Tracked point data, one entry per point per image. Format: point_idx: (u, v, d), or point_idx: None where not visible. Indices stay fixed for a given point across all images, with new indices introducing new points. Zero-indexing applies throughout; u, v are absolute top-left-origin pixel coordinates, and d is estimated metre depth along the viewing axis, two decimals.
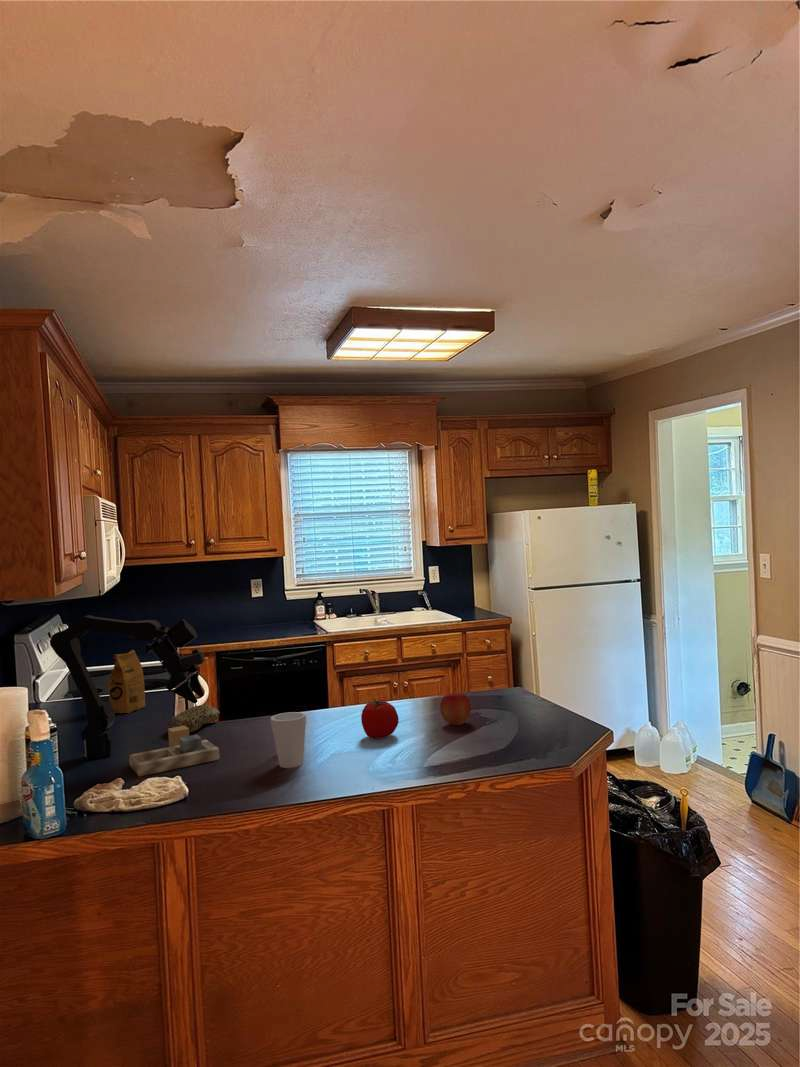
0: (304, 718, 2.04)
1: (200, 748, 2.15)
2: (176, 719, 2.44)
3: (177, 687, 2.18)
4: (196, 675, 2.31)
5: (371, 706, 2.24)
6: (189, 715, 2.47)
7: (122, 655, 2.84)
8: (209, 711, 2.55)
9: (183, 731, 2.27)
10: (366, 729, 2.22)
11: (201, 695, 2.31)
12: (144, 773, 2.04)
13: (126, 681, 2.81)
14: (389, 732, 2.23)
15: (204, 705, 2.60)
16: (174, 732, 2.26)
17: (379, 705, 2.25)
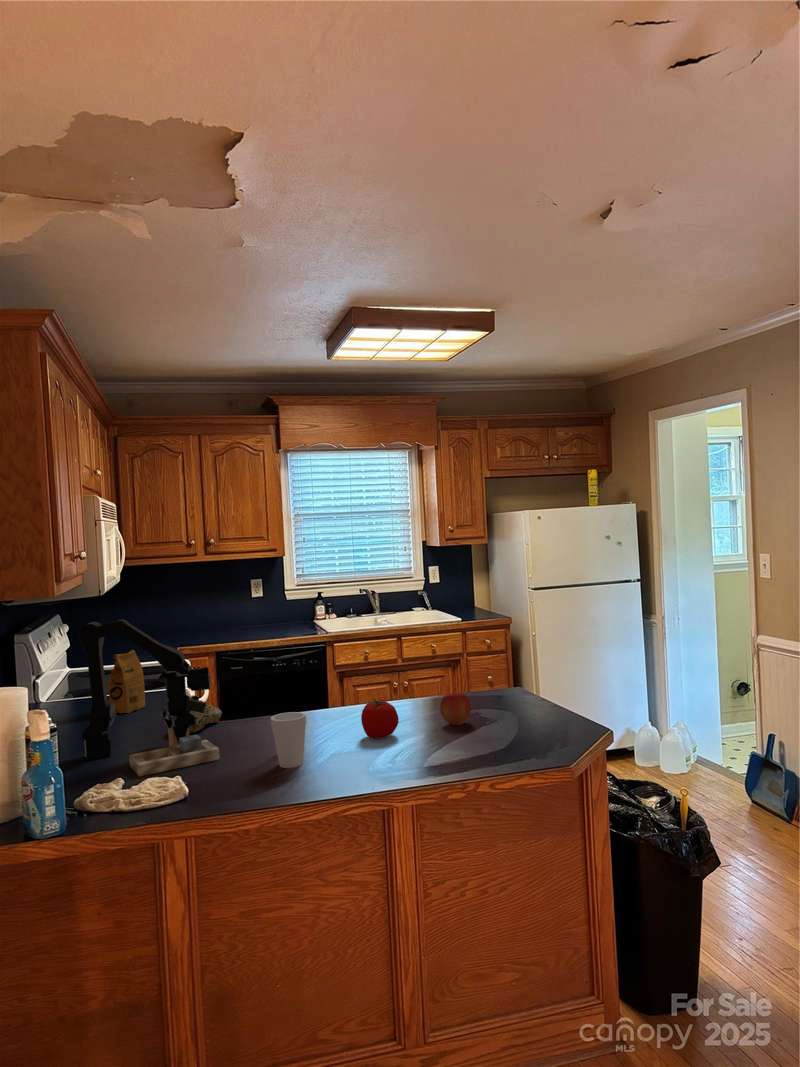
0: (304, 718, 2.04)
1: (200, 748, 2.15)
2: None
3: None
4: None
5: (371, 706, 2.24)
6: None
7: (122, 655, 2.84)
8: (212, 711, 2.55)
9: None
10: (366, 729, 2.22)
11: None
12: (144, 773, 2.04)
13: (126, 681, 2.81)
14: (389, 732, 2.23)
15: (206, 705, 2.59)
16: None
17: (379, 705, 2.25)
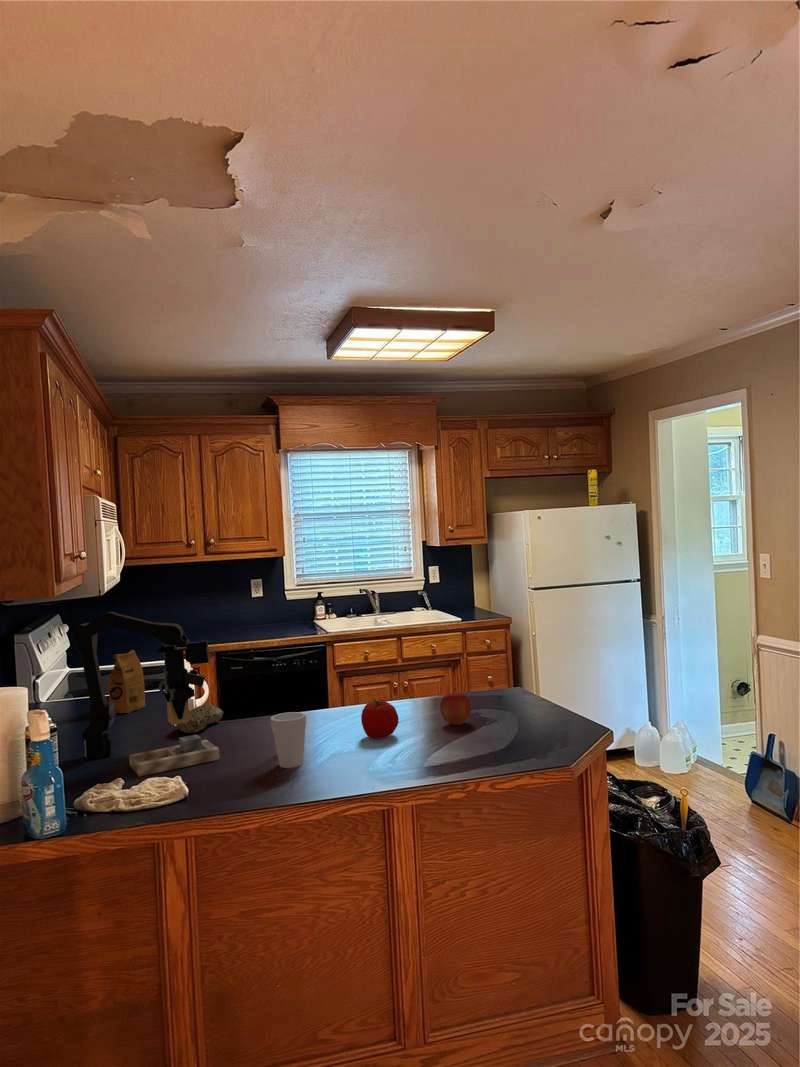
0: (304, 718, 2.04)
1: (200, 748, 2.15)
2: None
3: None
4: None
5: (371, 706, 2.24)
6: (194, 715, 2.47)
7: (122, 655, 2.84)
8: (213, 711, 2.55)
9: None
10: (366, 729, 2.22)
11: None
12: (144, 773, 2.04)
13: (126, 681, 2.81)
14: (389, 732, 2.23)
15: (207, 705, 2.59)
16: None
17: (379, 705, 2.25)
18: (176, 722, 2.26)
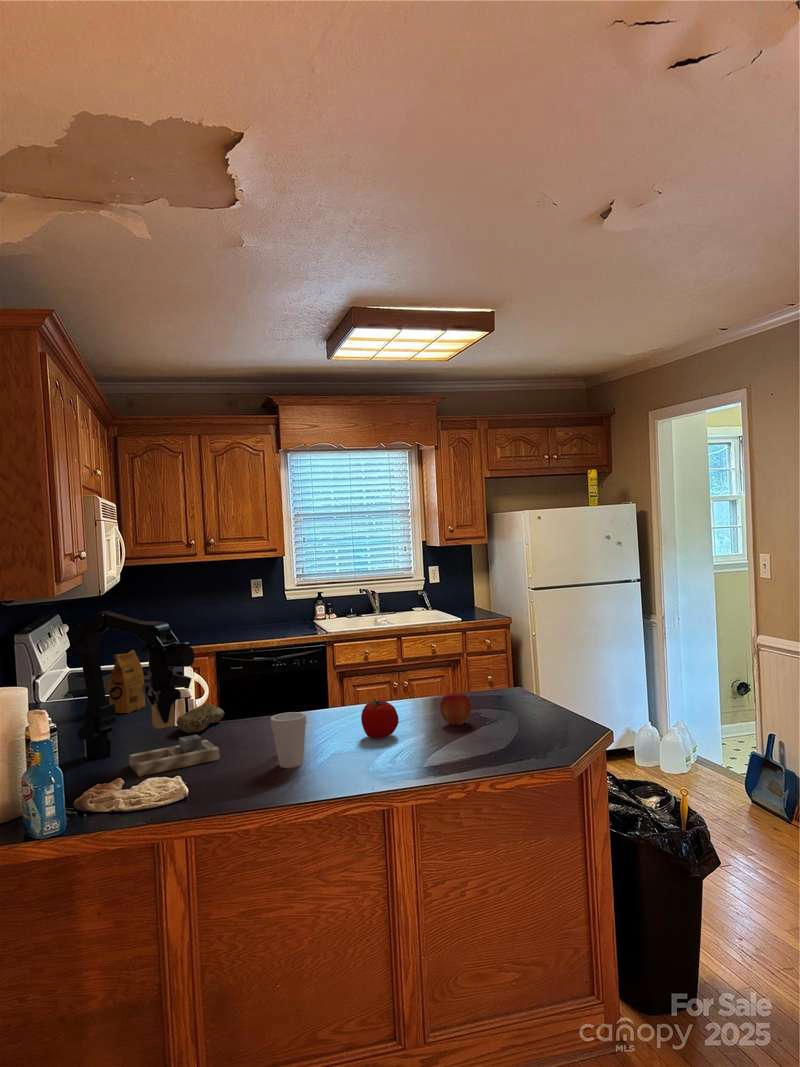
0: (304, 718, 2.04)
1: (200, 748, 2.15)
2: (183, 719, 2.43)
3: None
4: None
5: (371, 706, 2.24)
6: (195, 715, 2.47)
7: (122, 655, 2.84)
8: (214, 711, 2.55)
9: None
10: (366, 729, 2.22)
11: None
12: (144, 773, 2.04)
13: (126, 681, 2.81)
14: (389, 732, 2.23)
15: (208, 705, 2.59)
16: None
17: (379, 705, 2.25)
18: (161, 726, 2.14)
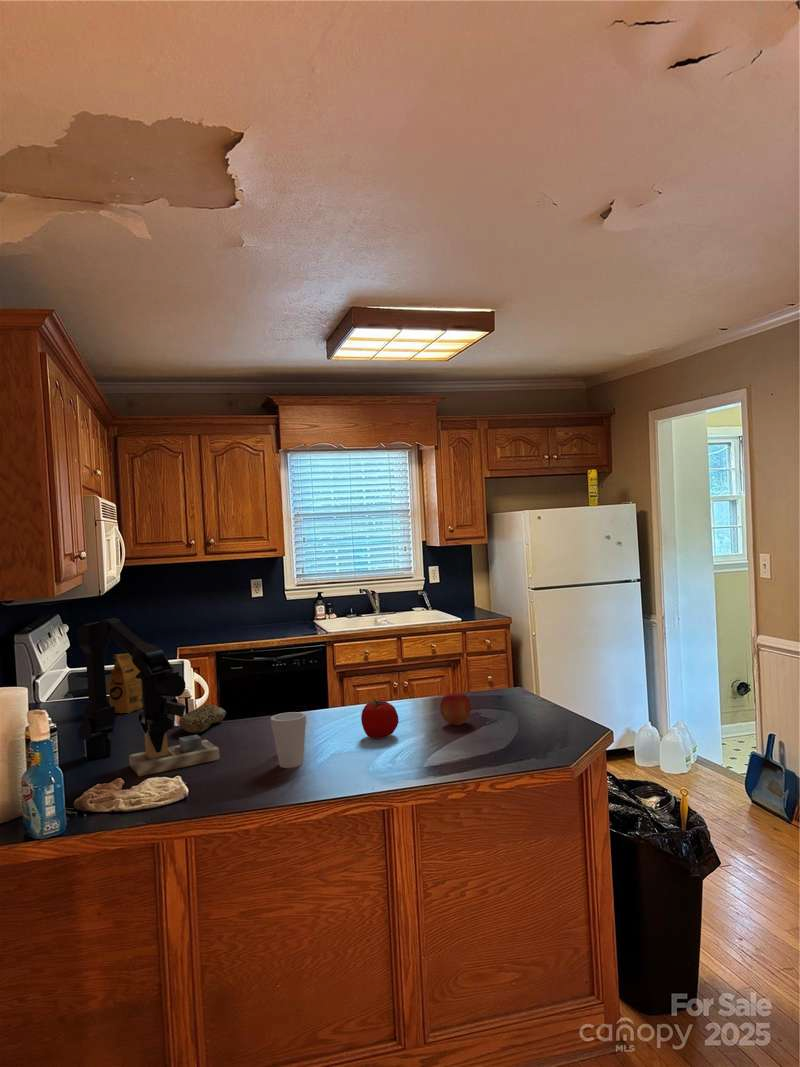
0: (304, 718, 2.04)
1: (200, 748, 2.15)
2: (185, 719, 2.43)
3: None
4: None
5: (371, 706, 2.24)
6: (198, 715, 2.47)
7: (122, 655, 2.84)
8: (216, 711, 2.55)
9: None
10: (366, 729, 2.22)
11: None
12: (144, 773, 2.04)
13: (126, 681, 2.81)
14: (389, 732, 2.23)
15: (210, 705, 2.59)
16: None
17: (379, 705, 2.25)
18: (154, 755, 2.09)
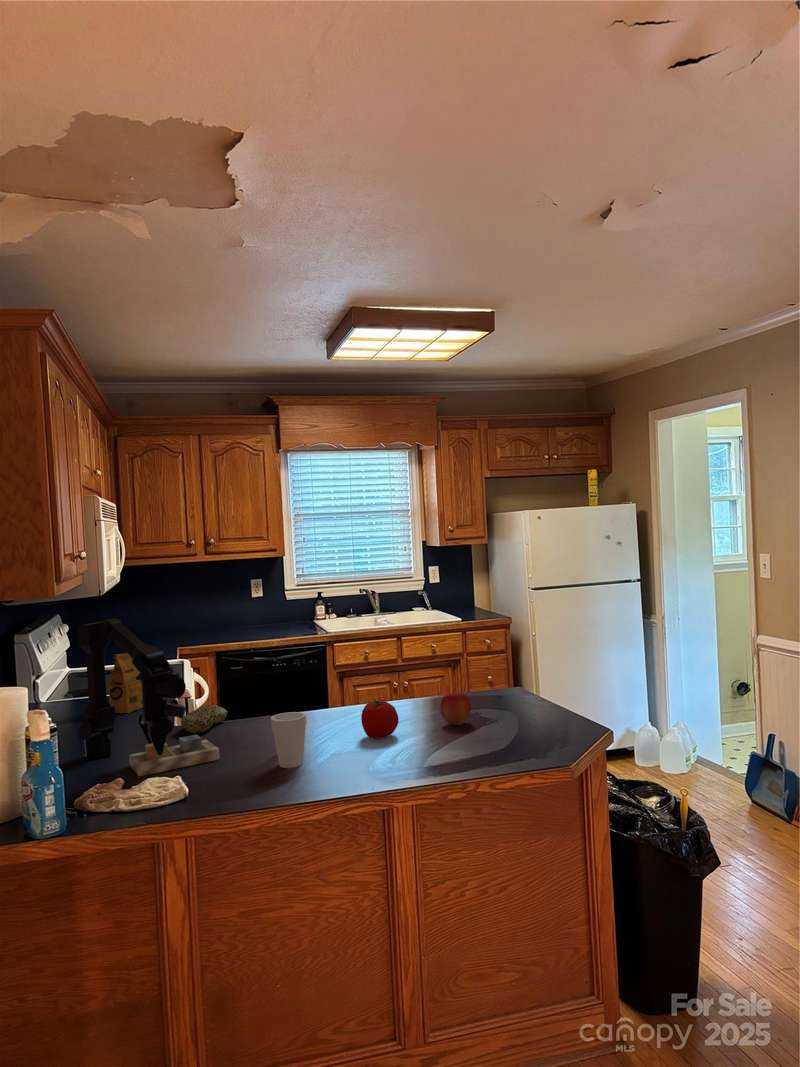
0: (304, 718, 2.04)
1: (200, 748, 2.15)
2: (187, 719, 2.43)
3: (158, 733, 2.05)
4: None
5: (371, 706, 2.24)
6: (200, 715, 2.47)
7: (122, 655, 2.84)
8: (218, 711, 2.55)
9: None
10: (366, 729, 2.22)
11: None
12: (144, 773, 2.04)
13: (126, 681, 2.81)
14: (389, 732, 2.23)
15: (211, 705, 2.59)
16: (151, 749, 2.09)
17: (379, 705, 2.25)
18: None
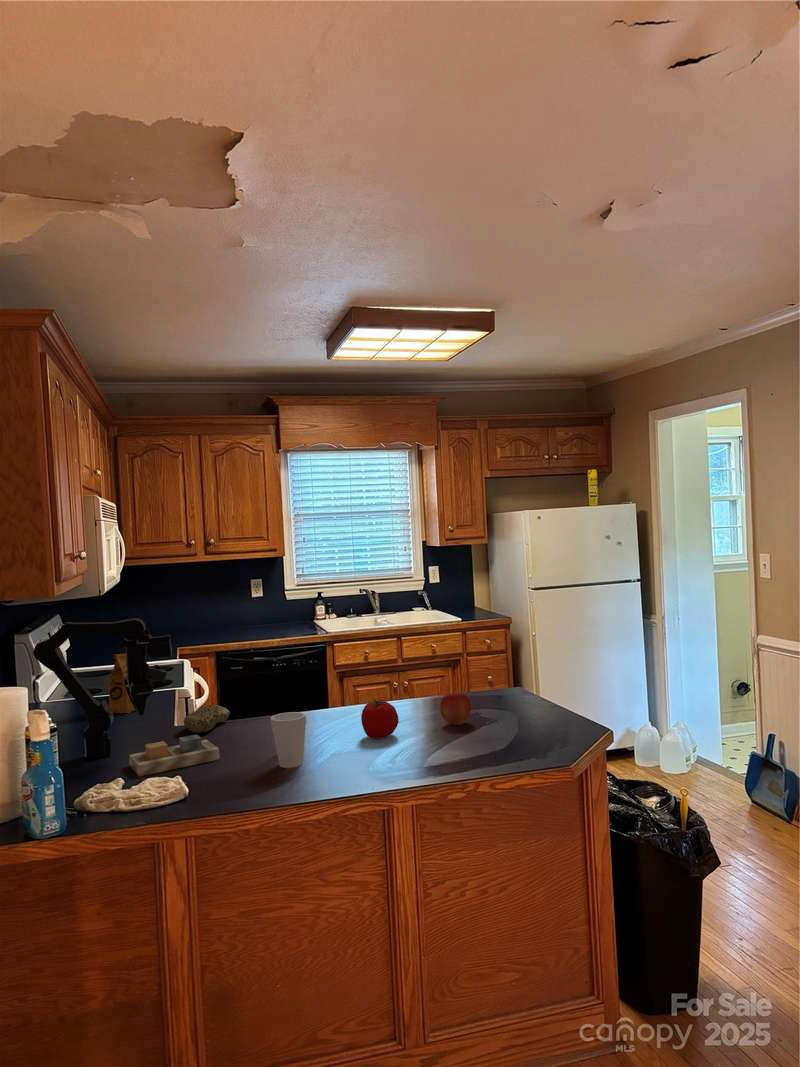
0: (304, 718, 2.04)
1: (200, 748, 2.15)
2: (190, 719, 2.43)
3: (139, 694, 2.21)
4: None
5: (371, 706, 2.24)
6: (202, 715, 2.46)
7: (122, 655, 2.84)
8: (220, 711, 2.55)
9: (161, 748, 2.10)
10: (366, 729, 2.22)
11: (136, 708, 2.32)
12: (144, 773, 2.04)
13: None
14: (389, 732, 2.23)
15: (214, 705, 2.59)
16: (151, 749, 2.09)
17: (379, 705, 2.25)
18: None
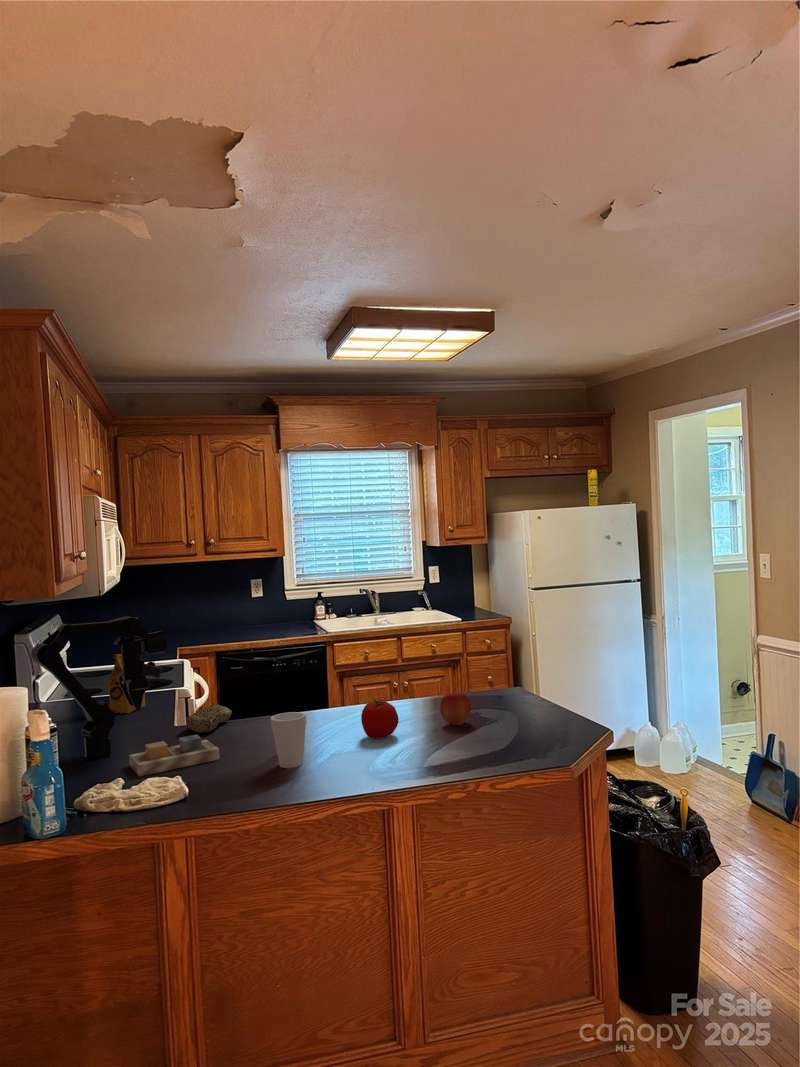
0: (304, 718, 2.04)
1: (200, 748, 2.15)
2: (193, 719, 2.43)
3: (136, 690, 2.26)
4: None
5: (371, 706, 2.24)
6: (205, 715, 2.46)
7: None
8: (222, 710, 2.55)
9: (161, 748, 2.10)
10: (366, 729, 2.22)
11: (131, 704, 2.37)
12: (144, 773, 2.04)
13: None
14: (389, 732, 2.23)
15: (215, 705, 2.59)
16: (151, 749, 2.09)
17: (379, 705, 2.25)
18: None
